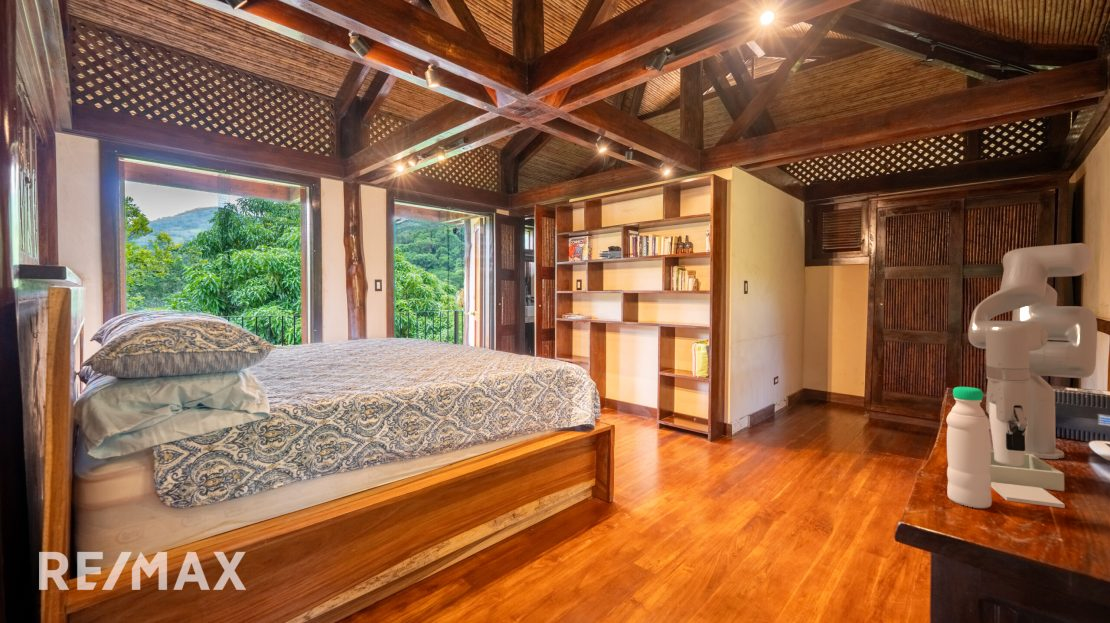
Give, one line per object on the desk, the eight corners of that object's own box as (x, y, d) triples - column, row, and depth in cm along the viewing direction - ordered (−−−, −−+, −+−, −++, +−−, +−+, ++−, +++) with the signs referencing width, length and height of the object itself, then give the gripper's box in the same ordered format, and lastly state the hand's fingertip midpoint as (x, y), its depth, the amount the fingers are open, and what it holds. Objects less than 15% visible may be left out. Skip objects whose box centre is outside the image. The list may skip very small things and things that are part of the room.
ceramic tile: (988, 485, 105) (988, 481, 105) (1041, 491, 101) (1041, 487, 101) (1006, 500, 97) (1006, 497, 97) (1064, 508, 93) (1064, 504, 93)
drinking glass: (1037, 468, 107) (1035, 407, 106) (1003, 468, 108) (1002, 407, 108) (1014, 458, 113) (1012, 400, 113) (983, 458, 115) (981, 400, 114)
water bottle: (980, 512, 92) (979, 392, 92) (940, 499, 98) (938, 387, 98) (998, 505, 95) (997, 389, 94) (957, 492, 101) (956, 383, 101)
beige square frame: (960, 462, 119) (960, 447, 119) (1032, 469, 113) (1032, 454, 113) (982, 481, 107) (982, 465, 107) (1064, 491, 101) (1064, 473, 101)
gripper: (973, 367, 119) (974, 433, 120) (1003, 380, 104) (1004, 456, 104) (1011, 368, 116) (1012, 436, 117) (1047, 381, 100) (1048, 459, 101)
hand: (1008, 444), depth 110 cm, fingers closed on drinking glass, 6 cm apart
